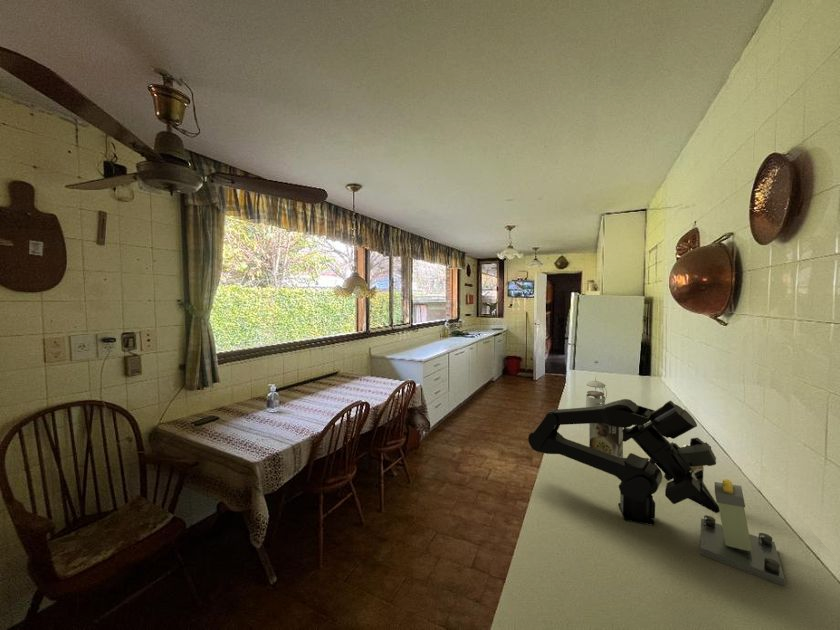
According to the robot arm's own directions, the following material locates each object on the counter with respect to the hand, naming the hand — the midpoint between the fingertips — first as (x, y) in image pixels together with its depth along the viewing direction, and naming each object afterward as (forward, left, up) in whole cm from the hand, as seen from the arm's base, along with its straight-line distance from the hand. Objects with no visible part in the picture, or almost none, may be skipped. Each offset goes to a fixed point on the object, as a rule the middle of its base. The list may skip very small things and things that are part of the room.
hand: (718, 511), depth 72 cm
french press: (-10, +83, -8) cm, 84 cm away
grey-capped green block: (+3, -1, -5) cm, 6 cm away
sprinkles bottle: (+3, +20, -8) cm, 22 cm away
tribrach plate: (+3, -1, -8) cm, 8 cm away
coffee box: (-15, +36, -8) cm, 40 cm away
